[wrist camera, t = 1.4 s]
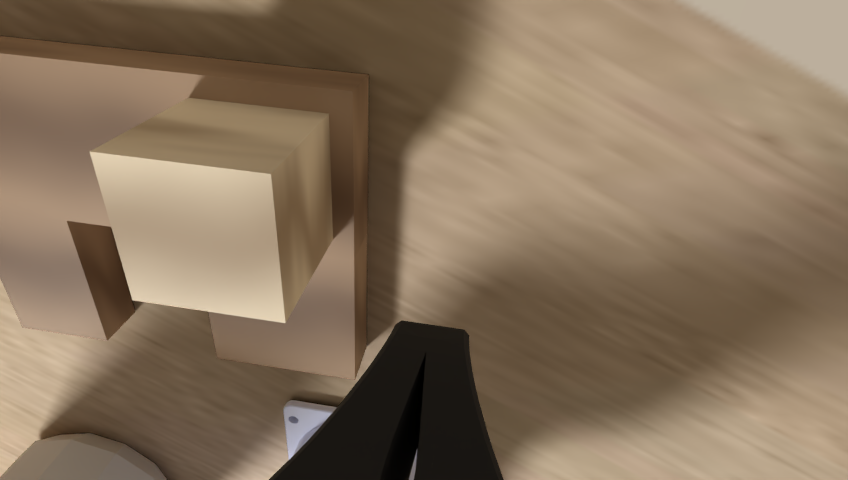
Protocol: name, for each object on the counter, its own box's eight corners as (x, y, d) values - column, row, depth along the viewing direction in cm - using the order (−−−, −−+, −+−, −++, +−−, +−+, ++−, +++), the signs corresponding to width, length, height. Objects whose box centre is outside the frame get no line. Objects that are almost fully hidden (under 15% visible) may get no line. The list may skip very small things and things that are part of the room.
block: (332, 239, 18) (285, 323, 14) (210, 222, 19) (132, 300, 15) (329, 113, 16) (270, 174, 12) (188, 97, 16) (89, 151, 13)
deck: (366, 346, 23) (341, 418, 20) (-115, 273, 26) (-211, 327, 22) (368, 74, 17) (333, 112, 14) (-271, 7, 19) (-437, 26, 16)
